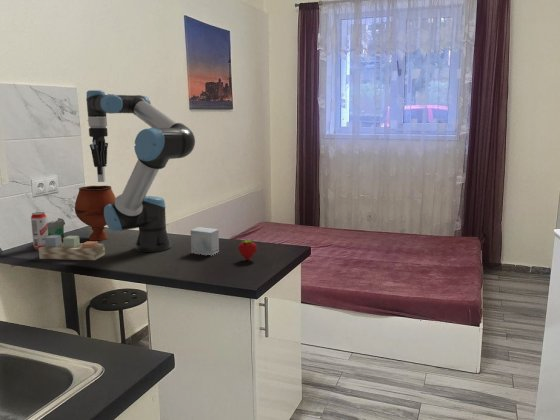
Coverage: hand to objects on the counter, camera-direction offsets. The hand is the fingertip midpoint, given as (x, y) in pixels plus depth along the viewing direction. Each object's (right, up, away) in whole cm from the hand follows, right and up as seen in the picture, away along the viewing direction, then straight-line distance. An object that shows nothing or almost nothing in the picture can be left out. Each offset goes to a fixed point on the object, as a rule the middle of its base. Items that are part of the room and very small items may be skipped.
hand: (101, 181), depth 220 cm
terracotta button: (-1, -30, -11) cm, 32 cm away
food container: (-25, -28, +14) cm, 40 cm away
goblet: (-9, -26, +20) cm, 34 cm away
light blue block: (-17, -27, -10) cm, 34 cm away
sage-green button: (-9, -28, -11) cm, 31 cm away
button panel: (-9, -32, -10) cm, 34 cm away
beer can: (-27, -30, +2) cm, 41 cm away
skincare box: (+46, -31, -5) cm, 56 cm away
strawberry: (+65, -33, -16) cm, 75 cm away
